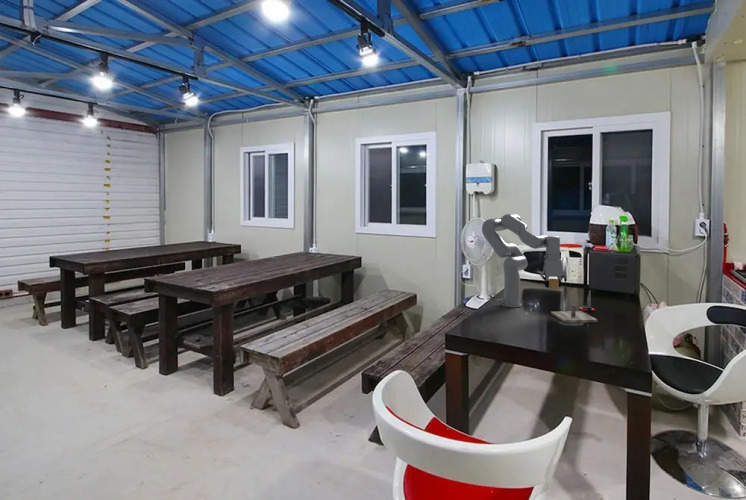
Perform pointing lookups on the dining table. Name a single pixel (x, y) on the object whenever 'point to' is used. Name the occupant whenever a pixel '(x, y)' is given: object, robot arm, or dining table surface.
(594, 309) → the tow hook
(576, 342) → the dining table surface
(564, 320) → the post base
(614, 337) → the dining table surface
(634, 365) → the dining table surface
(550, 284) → the collar
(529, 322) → the dining table surface
